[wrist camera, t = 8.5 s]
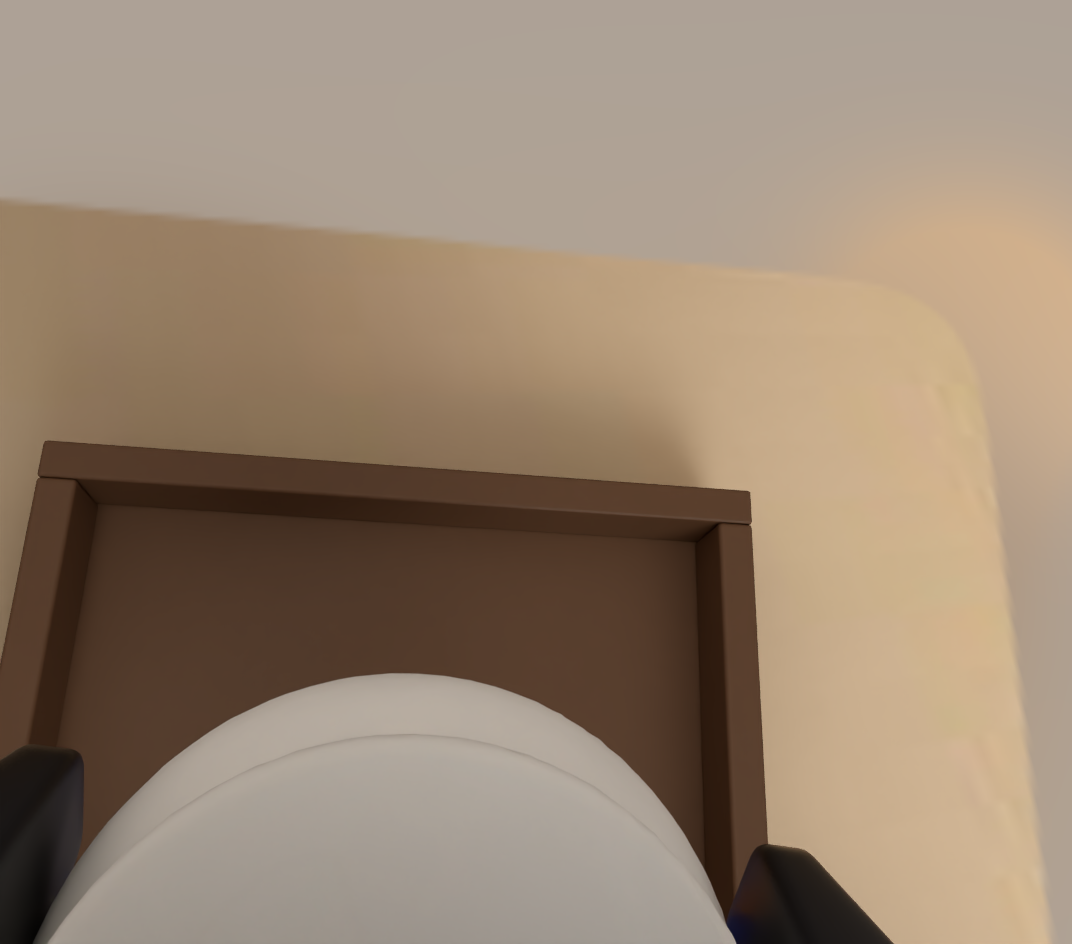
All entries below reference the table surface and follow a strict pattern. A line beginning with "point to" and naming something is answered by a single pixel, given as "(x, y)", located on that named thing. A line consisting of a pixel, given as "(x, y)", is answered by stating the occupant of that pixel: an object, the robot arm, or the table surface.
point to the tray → (386, 613)
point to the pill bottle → (391, 832)
